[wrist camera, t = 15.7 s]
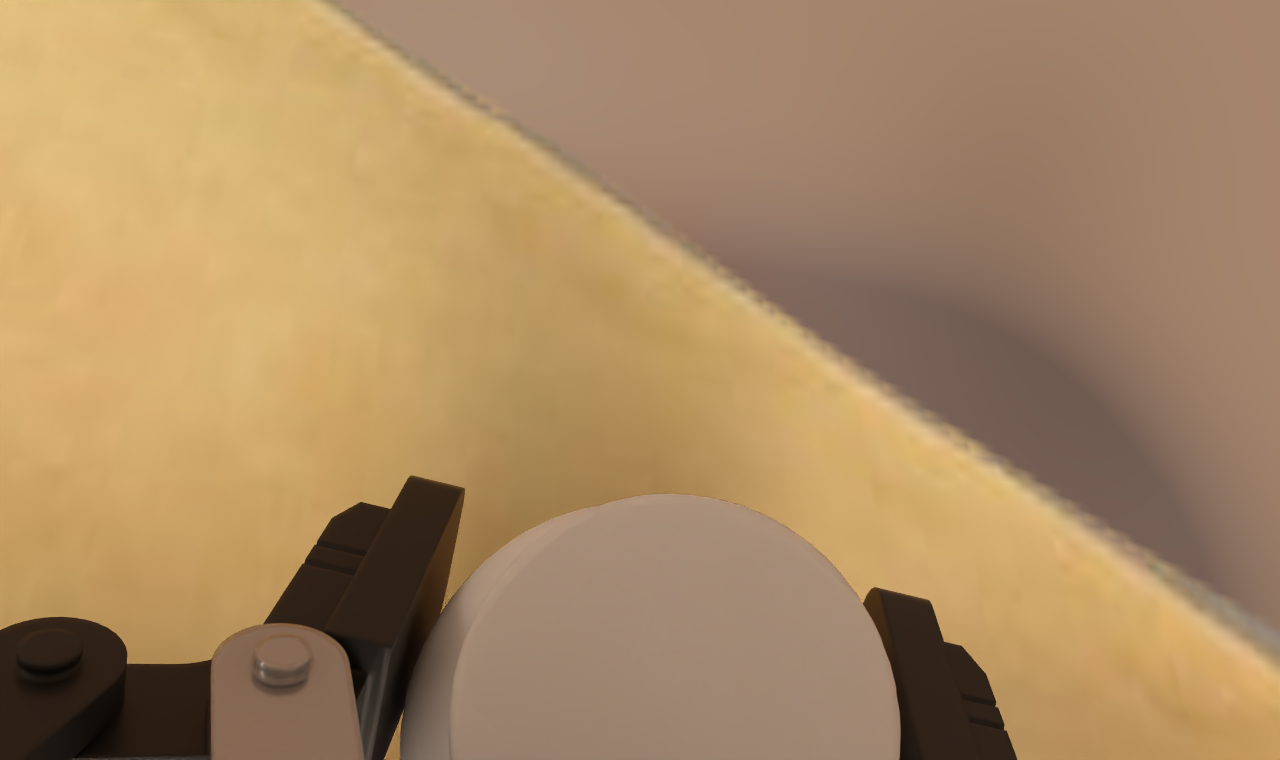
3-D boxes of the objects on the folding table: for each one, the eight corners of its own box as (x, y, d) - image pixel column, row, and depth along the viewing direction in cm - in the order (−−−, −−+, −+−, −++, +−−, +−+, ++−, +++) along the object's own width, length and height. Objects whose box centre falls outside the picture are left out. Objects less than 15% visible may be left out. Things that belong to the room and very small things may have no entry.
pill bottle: (493, 555, 19) (492, 346, 11) (789, 647, 19) (1019, 510, 11) (378, 888, 17) (268, 948, 9) (711, 991, 17) (920, 1150, 9)
